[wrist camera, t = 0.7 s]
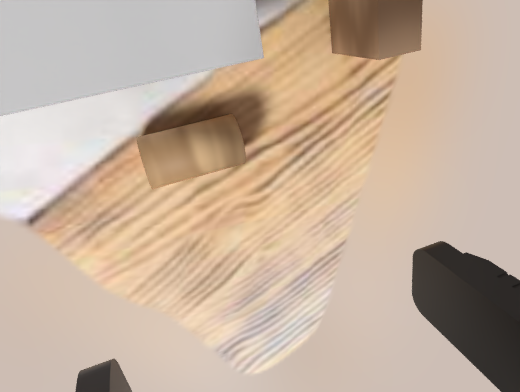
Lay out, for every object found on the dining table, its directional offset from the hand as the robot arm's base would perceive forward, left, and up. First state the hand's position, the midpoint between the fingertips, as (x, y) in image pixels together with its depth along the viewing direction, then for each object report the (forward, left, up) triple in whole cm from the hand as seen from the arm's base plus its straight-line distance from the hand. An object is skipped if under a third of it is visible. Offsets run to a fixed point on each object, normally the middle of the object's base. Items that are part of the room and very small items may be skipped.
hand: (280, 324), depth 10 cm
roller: (0, 0, -16) cm, 16 cm away
